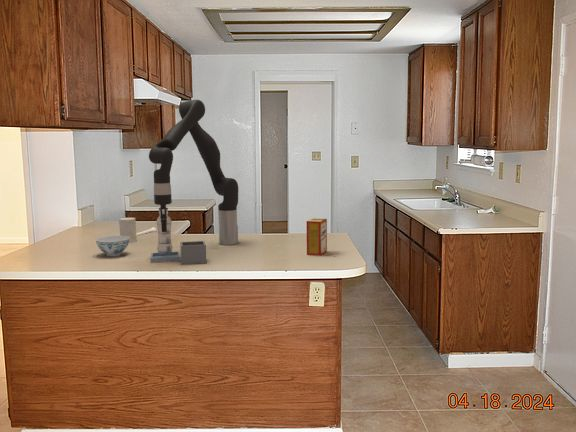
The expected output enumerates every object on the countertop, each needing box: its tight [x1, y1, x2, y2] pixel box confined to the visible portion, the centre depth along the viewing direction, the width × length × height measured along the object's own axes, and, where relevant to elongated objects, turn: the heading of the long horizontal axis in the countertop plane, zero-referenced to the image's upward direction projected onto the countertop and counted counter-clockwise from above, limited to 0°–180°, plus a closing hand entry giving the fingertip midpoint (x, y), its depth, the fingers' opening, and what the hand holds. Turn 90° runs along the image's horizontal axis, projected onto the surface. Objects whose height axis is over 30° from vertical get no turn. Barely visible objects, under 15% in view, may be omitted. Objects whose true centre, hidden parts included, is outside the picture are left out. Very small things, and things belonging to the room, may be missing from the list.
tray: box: [150, 251, 181, 264], centre depth 263 cm, size 13×12×2 cm
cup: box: [118, 217, 138, 244], centre depth 306 cm, size 8×8×12 cm
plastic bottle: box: [156, 212, 174, 254], centre depth 261 cm, size 6×7×20 cm
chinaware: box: [95, 235, 130, 257], centre depth 273 cm, size 15×15×8 cm
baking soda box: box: [306, 217, 328, 257], centre depth 270 cm, size 10×6×16 cm
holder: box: [179, 240, 207, 265], centre depth 257 cm, size 11×10×8 cm
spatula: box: [136, 227, 158, 237], centre depth 324 cm, size 28×4×3 cm, turn 158°
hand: (164, 230), depth 261 cm, fingers closed on plastic bottle, 6 cm apart
